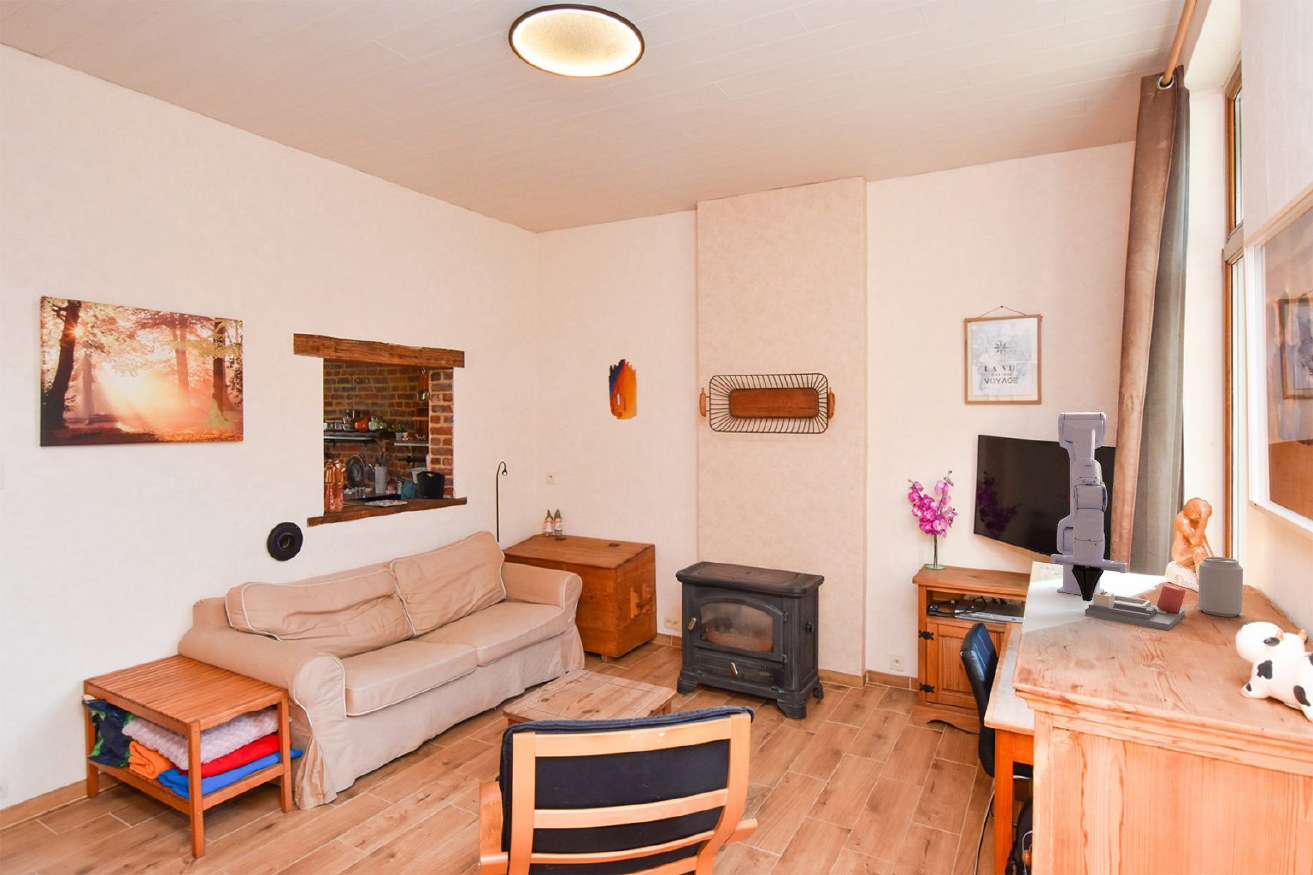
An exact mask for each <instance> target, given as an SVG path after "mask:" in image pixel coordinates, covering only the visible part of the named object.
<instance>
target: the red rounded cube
mask: <svg viewBox="0 0 1313 875" xmlns="http://www.w3.org/2000/svg"><path fill="white" fill-rule="evenodd" d="M1186 592H1187V590H1186V589H1185V588H1183V587H1180V586H1178V585H1175V584H1171V583H1163V584H1162V587H1161V591H1160V594H1159V597H1158V601H1157V604H1156V606H1157V607H1158V608H1160V609H1161V610H1164V611H1166V612H1170V613H1175V614H1178V613H1179V612H1180V609H1182V605H1183V601H1184V598H1185V595H1186Z"/></svg>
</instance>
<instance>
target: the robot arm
mask: <svg viewBox="0 0 1313 875" xmlns="http://www.w3.org/2000/svg"><path fill="white" fill-rule="evenodd" d="M1057 419H1058V420H1057V429H1058V430H1057V431H1058V433H1057V434H1058V443H1059V446H1060V447H1061V448H1064V449H1066V450H1067V453H1068V456H1069V488H1070V490H1069V493H1070V494H1069V503H1070V504H1069V506H1070V507H1069V509H1070V510H1069V512H1070V513H1069V514H1068V515H1067V516H1065V517H1064V518H1062V519H1060V520H1059V521H1058V524H1057V531H1056V532H1057V533H1056V549H1057V551H1058V552H1059V553H1061V554H1057V553H1053V554H1050V564H1054V565H1062V586H1060V587H1059V588H1057V589H1056V591H1057V592H1061V593H1067V594H1073V595H1079V596H1081V599H1082V601H1084V602H1091V601H1092V602H1093V594H1094V593H1095V592H1097V591H1104V592H1105V588H1104V587H1100V586H1101V584H1100V583H1101V581H1100V580H1101V577H1102V575H1103V574H1104V572H1105V571H1110V572H1117V573H1120V574H1126V573H1128V562H1121V561H1115V560H1109V559H1104V554H1105V551H1106V550H1105V548H1106V539H1105V532H1104V529H1105V528H1104V527H1105V525H1104V520H1105V517H1104V516H1105V513H1104V512H1106V510H1107V506H1108V493H1107V492H1108V491H1107V488H1106V485H1105V482H1104V481H1103V476H1102V474H1103V473H1102V466H1101V464H1100V462H1099V461H1097V460H1096V459H1095V450H1096V449H1098V448H1101V447H1102V445H1103V443H1104V441H1105V440H1104V439H1105V436H1106V433H1107V416H1106V414H1105V413H1104V412H1103V411H1101V412H1065V413H1064V412H1060V413H1059V414H1058V418H1057Z"/></svg>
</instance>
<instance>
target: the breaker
mask: <svg viewBox="0 0 1313 875" xmlns="http://www.w3.org/2000/svg"><path fill="white" fill-rule="evenodd" d="M1114 595H1115V592H1110V591H1105V590H1104V591H1097V592H1095V593H1094V594H1093V598H1092V605H1097V606H1103V607H1109V608H1113V607H1114Z"/></svg>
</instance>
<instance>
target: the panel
mask: <svg viewBox="0 0 1313 875" xmlns="http://www.w3.org/2000/svg"><path fill="white" fill-rule="evenodd" d="M1084 616H1087V617H1091V618H1092V617H1093V618H1099V619H1104V620H1110V621H1115V622H1121V623H1126V624H1130V625H1131V624H1132V625H1137V626H1144V627H1150V628H1156V629H1159V630H1160V629H1161V630H1166V631H1170V630H1171V629H1172V628H1173V627H1174V626H1175V625H1176V624H1177V623H1179V621H1180V620H1182V618H1183V617H1184V616H1185V609H1182V608H1180V612H1179V613H1178V614H1175V613H1170V612H1166V611H1164V610H1161V609H1160V608H1158V607H1157V604H1151V601H1150V600H1149V599H1143V598H1137V597H1130V596H1124V595H1118V594H1117V595H1116V594H1114V607H1113V608H1109V607H1103V606H1097V605H1093V604H1088V607H1086V609H1084Z"/></svg>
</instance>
